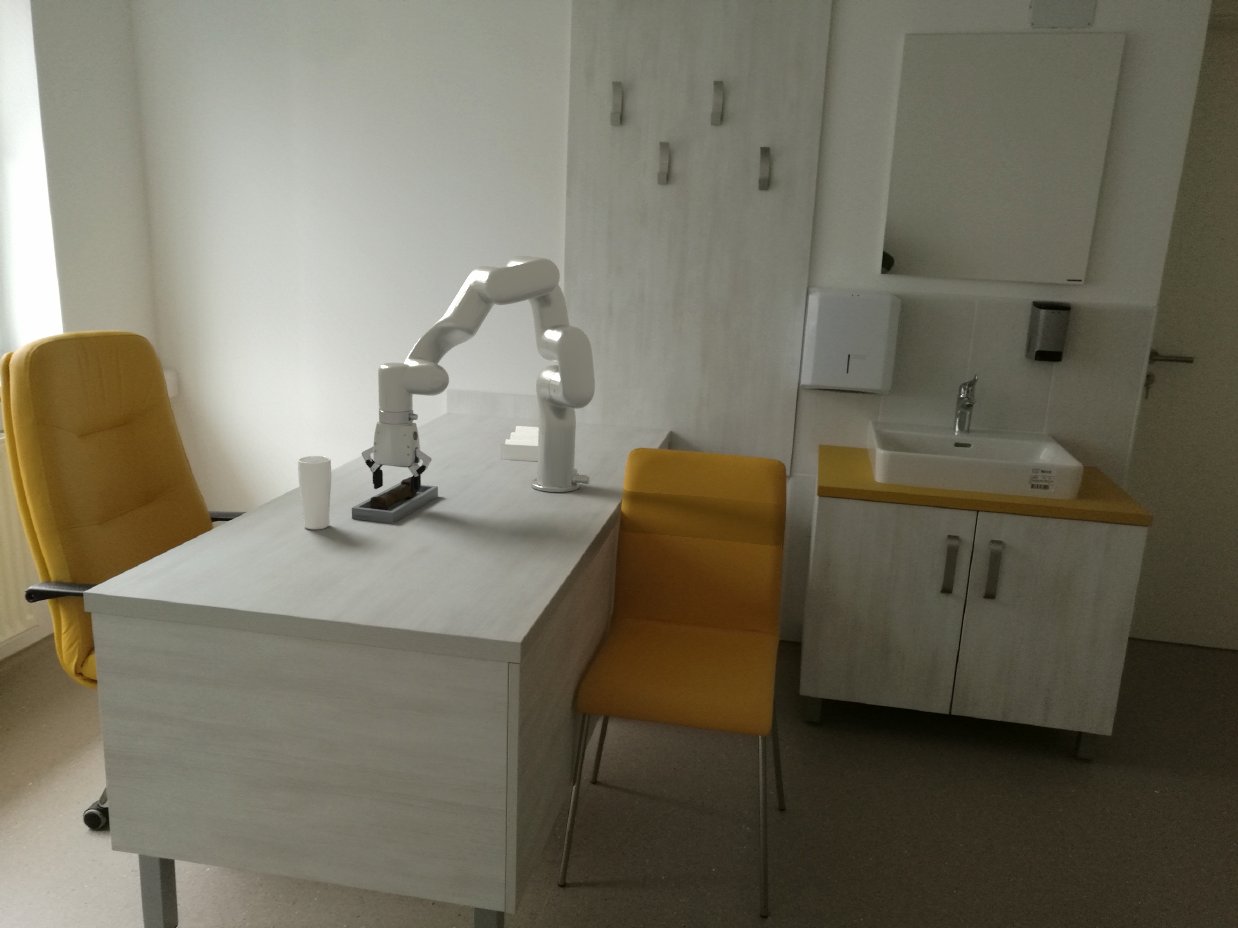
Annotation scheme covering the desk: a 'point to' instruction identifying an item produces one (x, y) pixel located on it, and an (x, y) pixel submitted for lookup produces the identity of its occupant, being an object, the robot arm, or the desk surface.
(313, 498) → the white tumbler
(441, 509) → the desk surface
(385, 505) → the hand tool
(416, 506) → the tray
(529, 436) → the file organizer
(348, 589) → the desk surface
